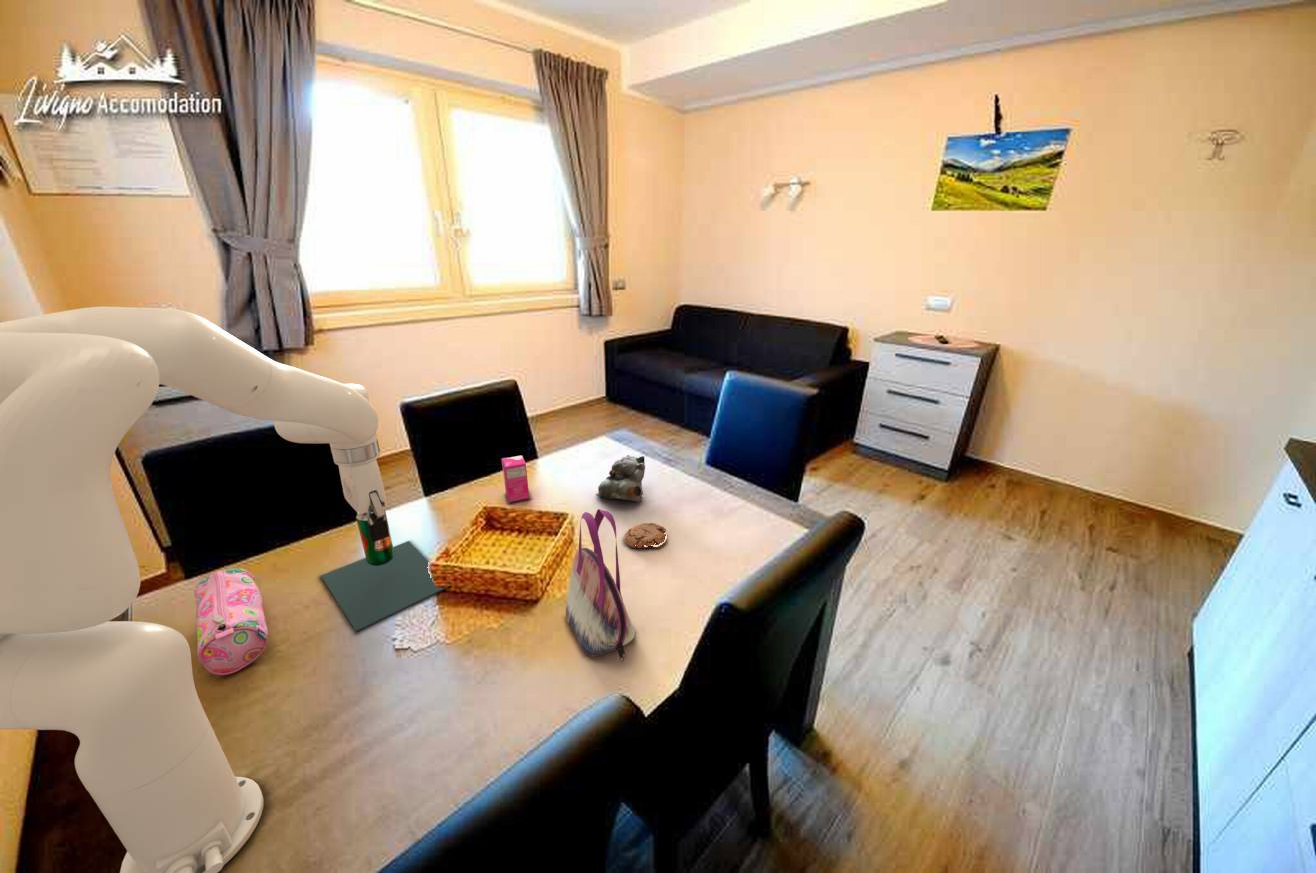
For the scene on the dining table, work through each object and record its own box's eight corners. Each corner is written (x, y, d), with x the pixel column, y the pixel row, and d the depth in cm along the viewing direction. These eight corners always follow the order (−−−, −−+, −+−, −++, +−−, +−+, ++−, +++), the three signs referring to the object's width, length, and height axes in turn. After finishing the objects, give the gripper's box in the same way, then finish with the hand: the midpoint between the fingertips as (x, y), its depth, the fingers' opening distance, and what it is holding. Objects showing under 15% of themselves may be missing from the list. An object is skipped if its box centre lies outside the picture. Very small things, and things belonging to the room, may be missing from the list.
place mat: (452, 586, 100) (451, 584, 100) (356, 632, 88) (356, 630, 88) (408, 542, 114) (408, 540, 114) (321, 577, 102) (320, 575, 102)
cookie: (617, 537, 119) (617, 527, 118) (651, 524, 125) (651, 514, 124) (640, 557, 111) (640, 546, 110) (675, 542, 117) (676, 532, 116)
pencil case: (275, 659, 82) (260, 618, 79) (204, 689, 76) (185, 646, 73) (263, 593, 97) (250, 556, 93) (203, 614, 91) (187, 575, 88)
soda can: (383, 569, 96) (371, 517, 92) (361, 565, 97) (348, 514, 93) (400, 554, 101) (390, 504, 96) (379, 550, 102) (368, 501, 97)
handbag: (650, 658, 85) (654, 539, 75) (598, 681, 80) (595, 557, 70) (601, 586, 102) (600, 482, 92) (556, 601, 97) (549, 493, 87)
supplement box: (505, 494, 137) (501, 458, 132) (526, 490, 139) (523, 454, 135) (508, 504, 132) (504, 466, 127) (530, 500, 134) (527, 463, 130)
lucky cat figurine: (588, 494, 138) (598, 446, 139) (623, 500, 145) (633, 455, 146) (613, 502, 126) (625, 450, 127) (650, 508, 132) (661, 459, 134)
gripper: (319, 442, 92) (340, 523, 99) (348, 471, 82) (369, 559, 89) (362, 432, 97) (379, 510, 104) (395, 458, 87) (411, 542, 94)
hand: (374, 532), depth 96 cm, fingers closed on soda can, 5 cm apart
